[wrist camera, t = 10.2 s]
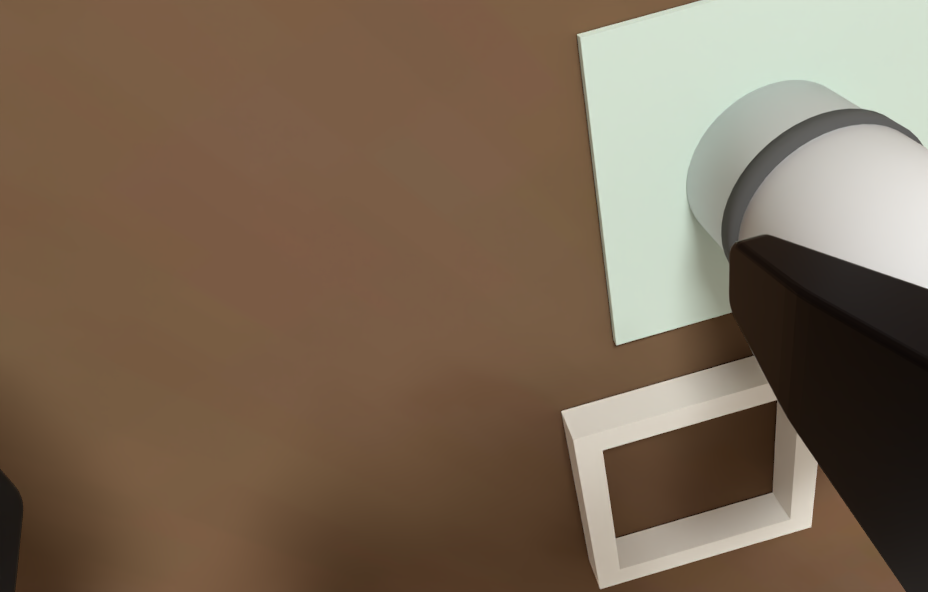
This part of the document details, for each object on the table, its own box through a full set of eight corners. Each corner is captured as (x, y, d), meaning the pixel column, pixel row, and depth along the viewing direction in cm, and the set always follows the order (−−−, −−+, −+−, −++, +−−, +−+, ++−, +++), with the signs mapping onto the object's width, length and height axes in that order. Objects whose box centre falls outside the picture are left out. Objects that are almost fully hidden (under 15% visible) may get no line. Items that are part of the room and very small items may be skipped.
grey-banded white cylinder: (724, 274, 26) (1020, 623, 15) (651, 156, 23) (961, 493, 12) (878, 173, 25) (1312, 479, 14) (823, 34, 22) (1328, 293, 11)
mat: (613, 340, 27) (616, 345, 27) (576, 34, 21) (580, 37, 20) (907, 256, 27) (913, 260, 27) (962, -71, 21) (969, -69, 21)
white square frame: (589, 560, 34) (600, 589, 33) (561, 411, 29) (572, 439, 27) (792, 500, 34) (811, 526, 33) (805, 341, 29) (827, 366, 28)
